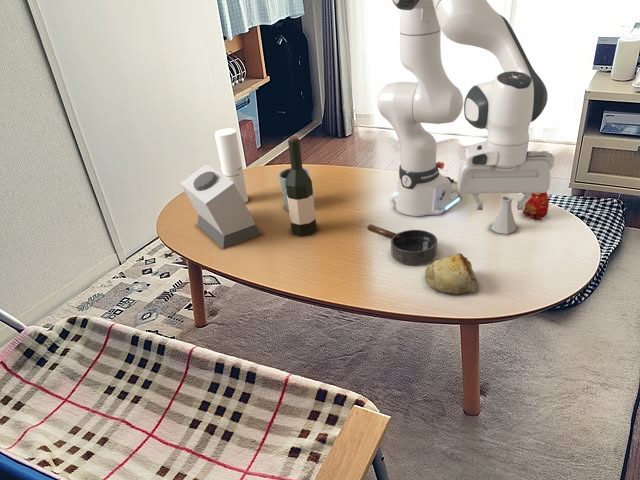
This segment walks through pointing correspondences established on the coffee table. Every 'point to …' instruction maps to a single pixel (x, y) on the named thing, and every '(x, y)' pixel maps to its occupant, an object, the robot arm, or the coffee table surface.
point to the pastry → (451, 275)
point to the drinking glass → (283, 177)
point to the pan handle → (382, 231)
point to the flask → (505, 217)
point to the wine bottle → (299, 193)
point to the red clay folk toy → (537, 206)
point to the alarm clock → (219, 207)
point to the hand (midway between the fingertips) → (499, 209)
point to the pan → (414, 247)
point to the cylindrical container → (231, 159)
